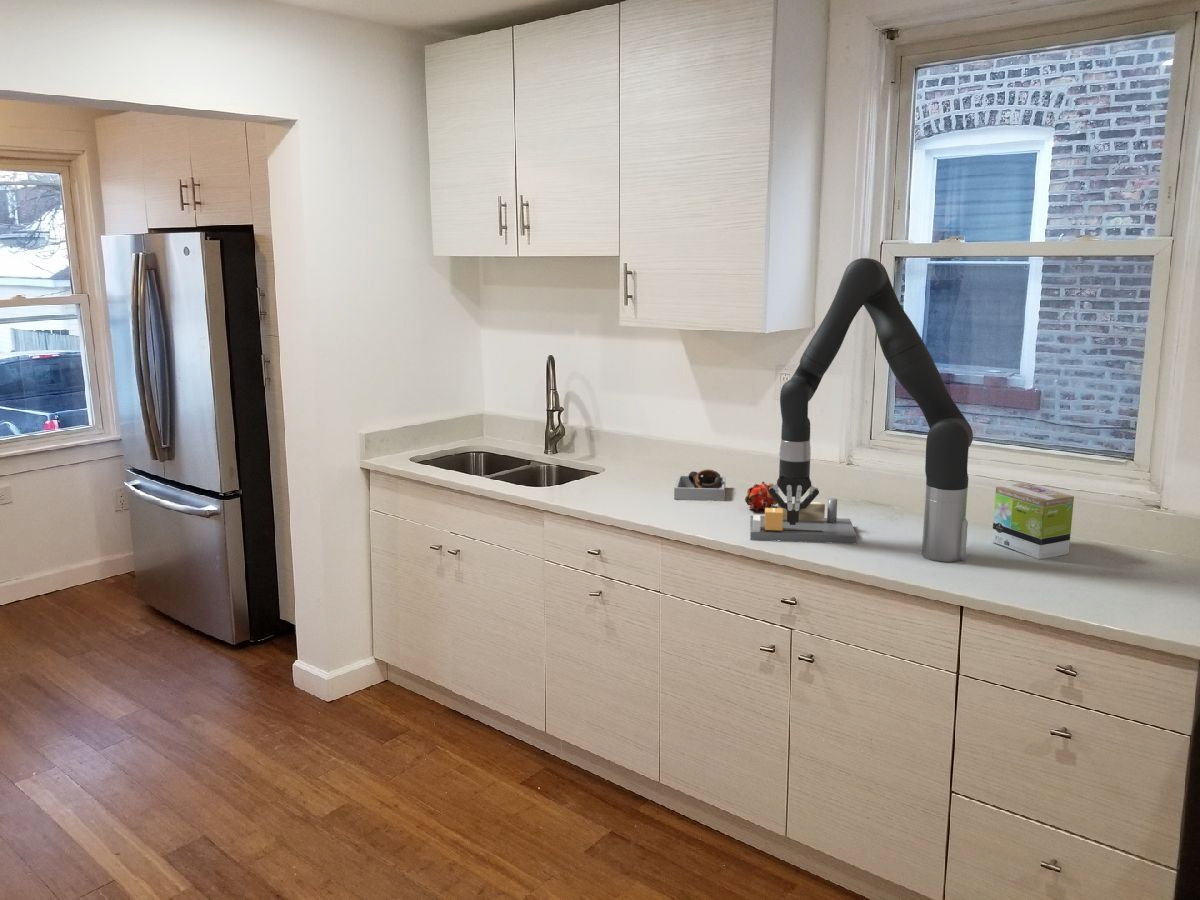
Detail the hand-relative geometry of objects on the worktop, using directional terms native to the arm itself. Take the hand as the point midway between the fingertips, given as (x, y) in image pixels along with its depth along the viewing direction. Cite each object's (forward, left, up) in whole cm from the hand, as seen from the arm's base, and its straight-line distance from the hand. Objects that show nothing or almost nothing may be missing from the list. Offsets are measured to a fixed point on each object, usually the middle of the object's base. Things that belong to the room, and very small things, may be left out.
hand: (792, 524), depth 240 cm
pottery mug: (+24, -45, -4) cm, 51 cm away
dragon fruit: (+7, -27, -4) cm, 28 cm away
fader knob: (+5, 0, -1) cm, 5 cm away
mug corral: (+25, -44, -4) cm, 51 cm away
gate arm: (-3, -9, -1) cm, 10 cm away
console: (-3, -5, -4) cm, 6 cm away
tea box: (-57, +2, -4) cm, 57 cm away
